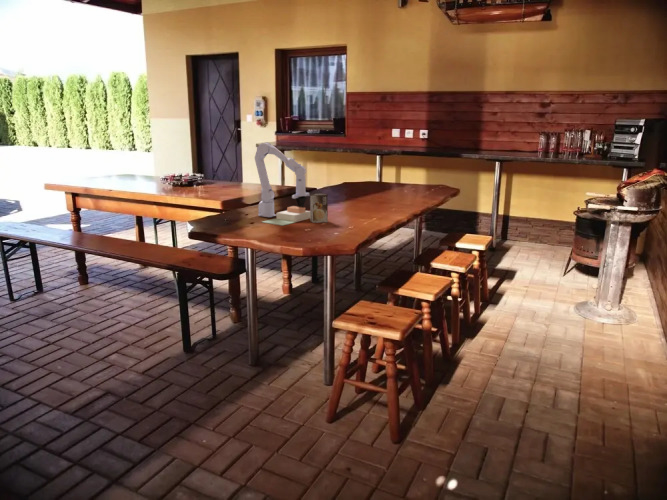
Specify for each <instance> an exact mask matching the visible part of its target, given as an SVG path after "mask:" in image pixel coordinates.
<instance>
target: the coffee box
mask: <svg viewBox="0 0 667 500" xmlns="http://www.w3.org/2000/svg"><path fill="white" fill-rule="evenodd" d="M309 197H310V198H309V207H310V210H309V211H310V219H309V220H310V222H311V223H313V224H315V223H316V224H317V223H328V222H329V219H328V215H329V213H328V210H329V209H328V208H329V207H328V203H329V202H328V201H329V200H328V194H326V193H309Z"/></svg>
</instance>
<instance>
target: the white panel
mask: <svg viewBox="0 0 667 500" xmlns="http://www.w3.org/2000/svg"><path fill="white" fill-rule="evenodd" d="M276 215H277V216H276V219H282V220H288V221H295V222H296V223H298V222H301V221H305V220H310V210H305V212H302V213H294V212H287V210H283V211H278V212H276Z"/></svg>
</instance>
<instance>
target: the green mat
mask: <svg viewBox="0 0 667 500" xmlns="http://www.w3.org/2000/svg"><path fill="white" fill-rule="evenodd" d="M261 223H263V224H264V223H265V224H269V225H275V226H280V227H281V226H282V227H283V226H287V225H292V224H296V223H297V222H295V221H288V220H282V219H277V218H272V219H267V220H264V221H263V220H262V221H261Z"/></svg>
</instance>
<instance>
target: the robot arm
mask: <svg viewBox="0 0 667 500" xmlns="http://www.w3.org/2000/svg"><path fill="white" fill-rule="evenodd" d="M267 155H273V156H275V157H276V158H278V159H280V160H281V161H282V162H283V163H284V165H285V166H286V167H287V168H288V169H289V170H290V171H292V172H293V173H294V174H295V176H296V177H295V194H292V195H291V199H294V200H295V201H296V203H297V207H304V206H305V202H306V200H307V197H310V192H307V191H306V174H307V169H306V167H305V166H304V165H302V164H301V163H298V162H297V161H296V160H295V158H292V157H287V156H286V155H285V154H284V153H283V152H281V151H280V150H279V149H278V148H277V147H275V145H273V144H271V143H270V142H262V143H260V144H259V145H258V146H257V147H256V151H255V155H254V162H255V166H256V169H257V173H258V178H259V182H260V186H261V190H260V192H261V194H260V195H261V196H260V198H261V201H260V202H259V203H258V206H257V207H258V215H257V216H258V217H265V218H273V217H277V214H275V199H274V198H275V196H276V195H275V192H274V190H273V188H272V186H271V184H270V180H269V176H268V171H267V168H266V164H265V158H266V157H267Z"/></svg>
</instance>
